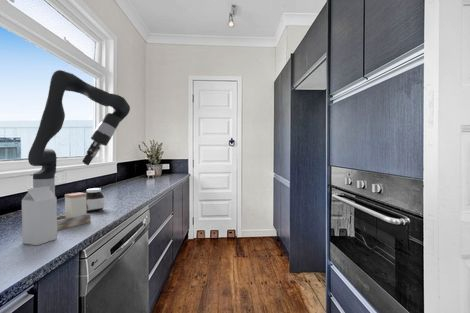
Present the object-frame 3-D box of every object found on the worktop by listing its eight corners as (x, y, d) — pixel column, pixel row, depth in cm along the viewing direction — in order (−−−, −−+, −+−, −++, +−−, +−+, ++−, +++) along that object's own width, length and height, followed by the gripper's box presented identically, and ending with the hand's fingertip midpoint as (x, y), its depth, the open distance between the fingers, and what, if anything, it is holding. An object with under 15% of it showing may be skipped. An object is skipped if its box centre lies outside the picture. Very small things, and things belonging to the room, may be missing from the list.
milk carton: (57, 239, 91) (56, 186, 90) (36, 246, 84) (35, 189, 84) (43, 236, 93) (42, 185, 93) (22, 243, 86) (21, 188, 86)
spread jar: (106, 210, 134) (106, 188, 134) (84, 215, 125) (84, 191, 125) (94, 207, 141) (94, 187, 141) (72, 212, 131) (72, 189, 131)
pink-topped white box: (71, 221, 107) (71, 195, 107) (65, 219, 111) (64, 194, 110) (86, 218, 112) (86, 193, 112) (79, 216, 116) (79, 192, 115)
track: (42, 233, 97) (42, 219, 97) (33, 229, 102) (33, 215, 102) (90, 222, 112) (90, 209, 112) (80, 219, 117) (80, 207, 117)
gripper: (96, 132, 126) (78, 161, 121) (95, 126, 113) (74, 158, 108) (111, 140, 128) (94, 168, 123) (111, 134, 116) (92, 166, 111)
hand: (85, 163), depth 116 cm, fingers open, 8 cm apart
